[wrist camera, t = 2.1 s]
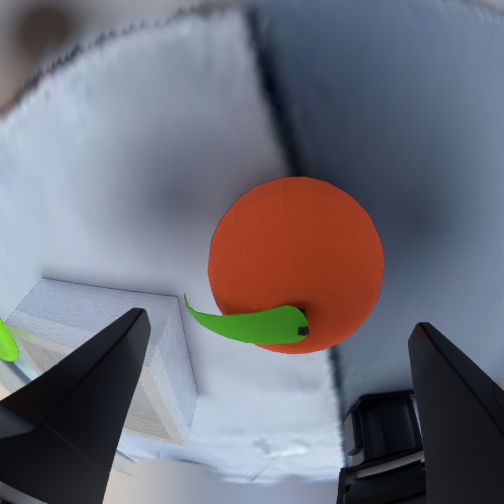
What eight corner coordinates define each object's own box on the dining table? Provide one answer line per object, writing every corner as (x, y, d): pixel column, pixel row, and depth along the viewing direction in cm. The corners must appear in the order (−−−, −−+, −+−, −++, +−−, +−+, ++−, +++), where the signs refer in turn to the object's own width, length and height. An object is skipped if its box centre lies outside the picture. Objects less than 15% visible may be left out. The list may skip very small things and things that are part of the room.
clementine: (224, 292, 17) (199, 397, 11) (186, 179, 13) (116, 258, 7) (361, 272, 15) (397, 376, 9) (353, 149, 12) (425, 207, 6)
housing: (177, 296, 17) (148, 367, 12) (198, 394, 23) (186, 446, 19) (42, 277, 18) (3, 323, 13) (89, 370, 24) (69, 411, 19)
